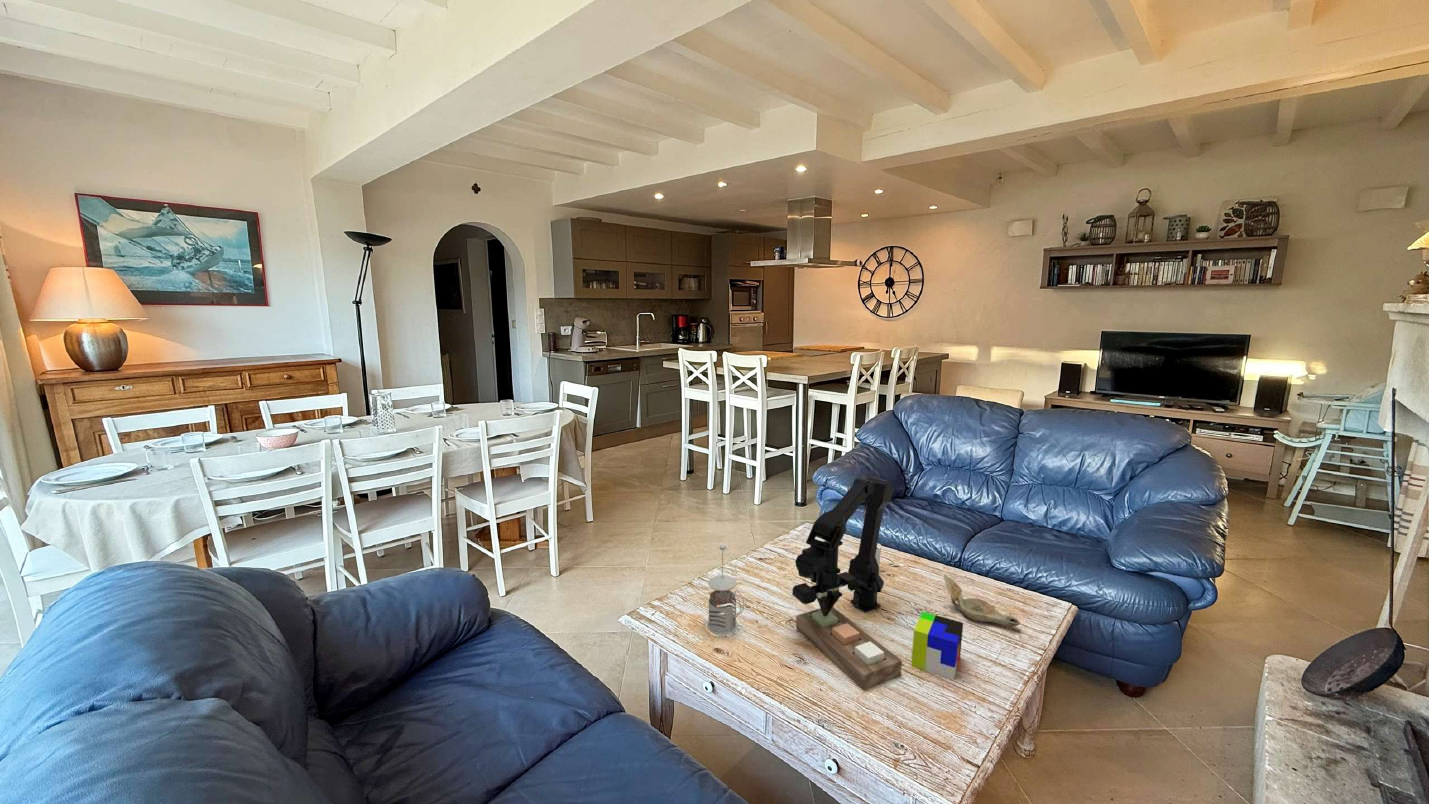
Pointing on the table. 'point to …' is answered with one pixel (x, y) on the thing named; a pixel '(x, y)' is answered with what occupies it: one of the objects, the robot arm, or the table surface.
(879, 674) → the key console
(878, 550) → the drinking glass
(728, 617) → the french press
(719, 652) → the table surface
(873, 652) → the white square block
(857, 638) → the terracotta key
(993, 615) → the oil lamp
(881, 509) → the robot arm
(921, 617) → the puzzle toy
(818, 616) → the pale green square block
